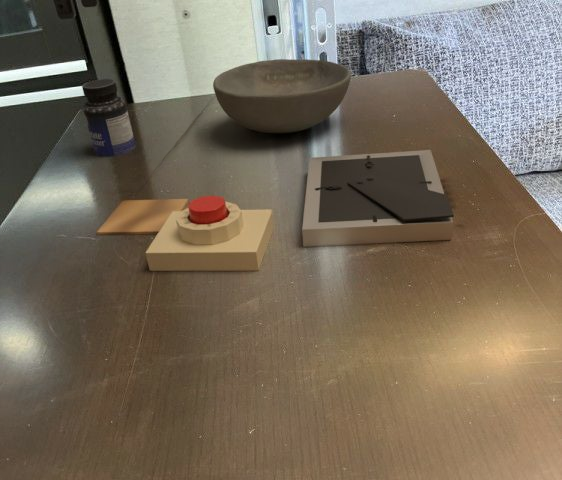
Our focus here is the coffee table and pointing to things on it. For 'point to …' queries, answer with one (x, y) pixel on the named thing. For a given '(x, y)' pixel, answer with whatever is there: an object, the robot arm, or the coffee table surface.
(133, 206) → the coaster
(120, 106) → the pill bottle
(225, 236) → the desk block
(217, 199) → the button
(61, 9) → the robot arm
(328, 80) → the bowl
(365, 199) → the picture frame
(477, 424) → the coffee table surface
